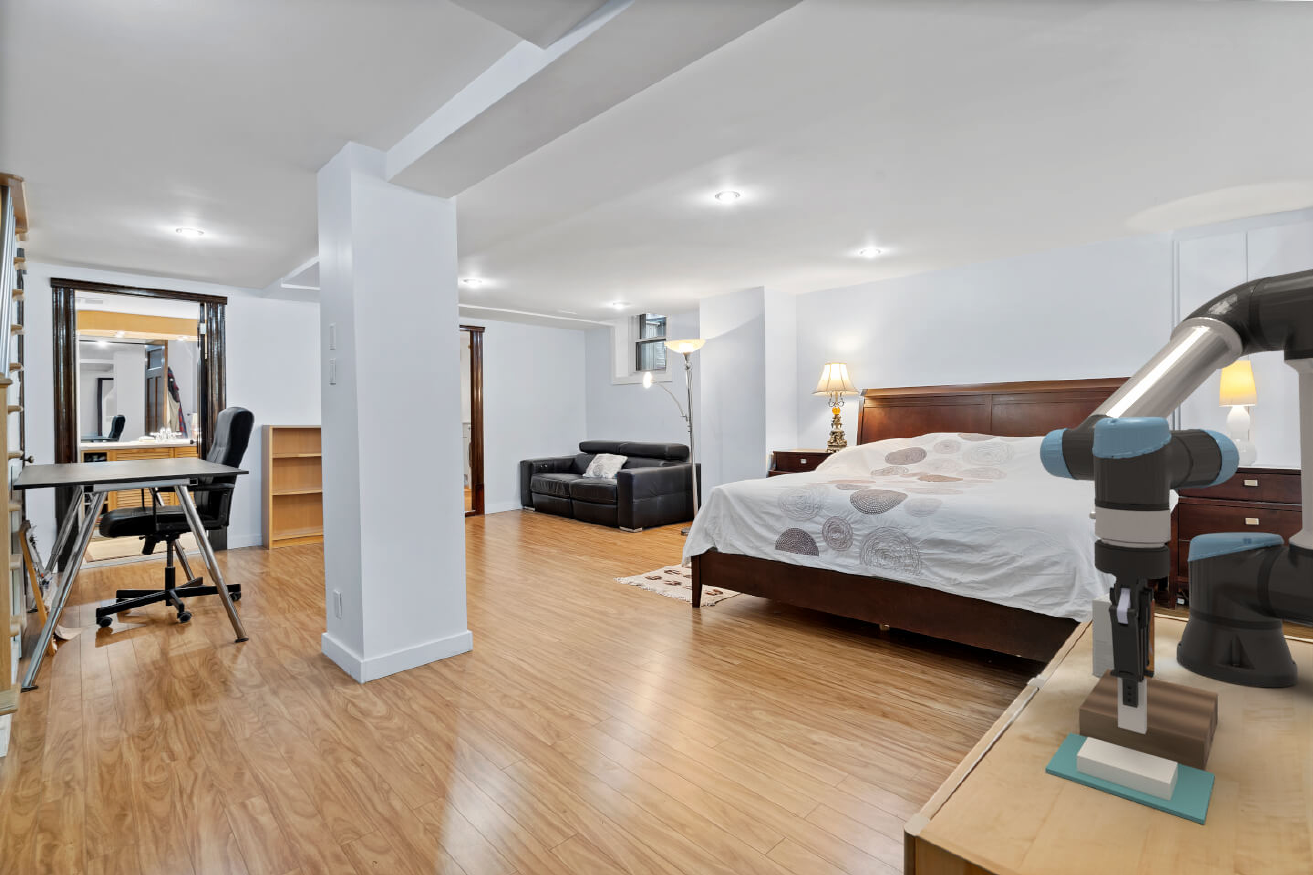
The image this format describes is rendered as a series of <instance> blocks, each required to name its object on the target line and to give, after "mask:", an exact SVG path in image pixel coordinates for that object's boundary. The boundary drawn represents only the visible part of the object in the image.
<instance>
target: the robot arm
mask: <svg viewBox="0 0 1313 875" xmlns="http://www.w3.org/2000/svg"><path fill="white" fill-rule="evenodd" d="M1169 336H1170V337H1169V341H1168V342H1167V343H1166V344H1165V345H1164V346H1163V347H1162V348H1161V349H1160V350H1159V351H1158V352H1157V353H1155V354H1154V356H1152V358H1150V359H1148V360H1147V362H1146V363H1145V364H1144V365H1142V367H1141V368H1140V369H1138V370H1137V371H1136V372H1135V373H1134V374H1133V375H1132V376H1130V377H1129V379H1128V380H1127V381H1125V382H1124V383H1123V384H1122V385H1121V386H1120V387H1119V388H1118V389H1116V391H1114V392H1113V393H1112V394H1111V395H1110V396H1109V397H1108V398H1107V399H1106V400H1105V401H1104V402H1102V403H1101V404H1100V405H1099V406H1098V407H1097V408H1096V409H1095V410H1094V411H1093V412H1091V414H1090V415H1088V417H1086V418H1085V419H1084V420H1083V421H1082V422H1081V423H1080V424H1078V426H1077V427H1075V428H1073V429H1071V428H1069V427H1067V428H1063V429H1056V430H1055V429H1054V430H1051V431H1050V432H1048V433H1047V434H1046V435H1045V436H1044V438H1043V439H1042V442H1041V443H1040V446H1039V458H1040V462H1041V463H1042V466H1043V468H1044V470H1045V471H1046V472H1047V473H1049V474H1050V475H1052V476H1054V477H1058V478H1063V479H1071V480H1074V481H1087V482H1088V481H1089V482H1094V511H1090V512H1089V514H1088V517H1089V518H1090V519H1092V520H1095V522H1094V535H1096V537H1097V538H1099V539H1097V540H1096V541H1095V542H1094V567H1095V568H1096V570H1097V571H1099V572H1101V573H1103V574H1106V575H1107V574H1108V575H1109V574H1110V575H1111V576H1113V577H1115V582H1114V583H1113V587H1111V586H1110V587H1109V592H1108V593H1109V599H1110V601H1111V603H1112V605H1110V607H1109V613H1110V619H1111V627H1112V643H1113V659H1114V670H1113V669H1112V670H1111V671H1110V675H1111V676H1114V677H1118V727H1120V728H1124V729H1128V730H1132V731H1135V732H1139V733H1143V734H1145V733H1146V731H1147V678H1144V676H1147V677H1150V678H1151V679H1154V676H1155V670H1154V671H1150V670H1147V667H1148V666H1149V664H1150V660H1149V641H1150V620H1151V602H1152V600H1153V599H1154V596H1155V594H1154V593H1155V592H1154V588H1153V587H1148V580H1157V579H1164V578H1167V577H1168V576H1169V575H1170V573H1171V549H1170V547H1169V546H1168V545H1167V544H1165V543H1167V542H1169V541H1171V539H1172V537H1171V534H1172V532H1171V531H1172V530H1171V528H1172V527H1171V525H1172V524H1171V518H1172V517H1171V516H1172V515H1171V513H1172V512H1171V507H1170V500H1171V499H1170V492H1171V491H1170V490H1174V491H1175V490H1184V489H1186V490H1187V489H1205V488H1209V487H1212V486H1217V485H1221V484H1222V483H1225V482H1226V481H1229V479H1230V478H1232V477H1233V476H1234V475H1235V473H1236V472H1237V470H1238V468H1239V464H1240V461H1241V460H1240V453H1239V450H1238V448H1237V445H1236V444H1235V443H1234V441H1232V439H1231V438H1230V437H1228V436H1227V435H1225V434H1224V433H1221V432H1219V431H1216V430H1214V429H1213V430H1211V429H1203V428H1187V429H1182V430H1181V429H1179V430H1178V429H1170V424H1169V421H1168V420H1167V418H1168V417H1169V416H1170V415H1171V414H1172V413H1173V412H1174V411H1175V410H1177V408H1178V407H1179V406H1180V405H1181V404H1183V403H1184V402H1185V401H1186V400H1187V399H1188V398H1189V397H1190V396H1191V395H1193V393H1194V392H1195V391H1196V390H1197V389H1198V388H1199V387H1200V386H1201V385H1202V384H1203V383H1205V381H1206V380H1208V379H1209V377H1210V376H1212V374H1214V373H1215V372H1216V371H1217V370H1222V369H1224V368H1227V367H1229V366H1231V365H1233V364H1234V363H1235V362H1236V361H1237V360H1239V358H1241V357H1244V356H1248V355H1252V354H1257V353H1265V352H1277V351H1278V352H1281V351H1283V363H1284V364H1286V365H1287V366H1289V367H1290V368H1291V369H1293V370H1295V372H1297V373H1298V402H1299V403H1298V404H1299V407H1298V409H1299V410H1298V411H1299V436H1300V438H1299V443H1300V477H1301V478H1300V479H1301V482H1300V483H1301V510H1302V511H1301V514H1302V516H1301V517H1302V518H1301V520H1302V528H1301V530H1299V531H1298V532H1296V533H1295V534H1294V535H1291V536H1290V537H1289V538H1288V545H1287V546H1286V545H1284V544H1285V541H1284V539H1283V536H1281V535H1280V534H1275V533H1271V532H1270V533H1269V532H1268V533H1267V532H1216V533H1205V534H1200V535H1196V536H1195V537H1193V538H1192V539H1191V540H1190V542H1189V552H1188V558H1187V562H1188V595H1189V596H1188V598H1189V599H1188V600H1189V602H1188V606H1189V612H1188V613H1189V615H1188V616H1189V617H1188V620H1187V622H1186V625H1185V626H1184V629H1183V633H1182V635H1181V639H1180V641H1179V642H1178V643H1177V645H1176V661H1177V662H1178V664H1180V665H1181V666H1183V667H1185V668H1186V669H1188V670H1190V671H1192V672H1194V673H1196V674H1200V675H1203V676H1205V677H1208V678H1211V679H1214V680H1215V679H1216V680H1219V681H1224V682H1229V683H1234V684H1238V685H1244V686H1252V687H1258V688H1260V687H1261V688H1285V687H1291V686H1294V685H1297V683H1298V681H1299V672H1298V671H1299V669H1298V665H1297V663H1296V661H1295V660H1294V659H1293V657H1292V654H1291V651H1290V647H1289V645H1288V642H1287V640H1286V637H1285V634H1284V632H1283V621H1287V622H1291V623H1294V624H1300V625H1303V626H1308V627H1313V268H1311V269H1307V270H1300V271H1297V272H1296V271H1295V272H1294V271H1293V272H1289V273H1284V274H1279V275H1274V276H1265V277H1261V278H1255V279H1253V280H1249V281H1246V282H1244V283H1242V284H1239V285H1236V286H1234V287H1231V288H1229V289H1228V290H1226V291H1224V292H1222V293H1220V294H1218V295H1217V296H1215V297H1213V298H1211V299H1210V300H1209V301H1207V302H1205V303H1204V304H1202V305H1201V306H1199V307H1198V308H1197V309H1195V310H1193V311H1192V312H1191V313H1190V314H1189V315H1187V316H1186V317H1184V319H1182V320H1181V321H1180V322H1179V323H1178V324H1177V325H1176V326H1175V327H1174V329H1172V332H1171V334H1170V335H1169Z"/></svg>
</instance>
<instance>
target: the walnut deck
mask: <svg viewBox="0 0 1313 875" xmlns="http://www.w3.org/2000/svg"><path fill="white" fill-rule="evenodd" d="M1110 671H1111V670H1110V669H1107V670H1106V671H1105V673H1104V674H1103V676H1102V677H1100V678H1099V679H1098V681H1097V682H1096V683H1095V686H1094V687H1093V688H1092V690H1091V691H1090V693H1088V696H1086V698H1085V699H1084V701H1083V702H1082V704H1081V705H1080V706H1079V709H1078V711H1079V712H1078V713H1079V714H1078V716H1079V717H1078V721H1079V722H1078V724H1079V727H1078V728H1079V734H1078V735H1081V736H1085V737H1091V738H1094V739H1098V740H1101V741H1105V742H1108V743H1111V744H1115V745H1118V746H1122V747H1125V748H1129V749H1132V750H1136V751H1139V752H1143V753H1146V754H1150V755H1153V756H1157V757H1160V758H1164V759H1167V760H1171V761H1174V762H1178V763H1179V764H1182V765H1186V766H1189V767H1193V768H1196V769H1200V770H1203V771H1206V768H1207V764H1208V761H1209V757H1210V753H1211V749H1212V745H1213V740H1214V737H1215V734H1216V729H1217V725H1218V722H1219V721H1218V719H1219V714H1218V713H1219V709H1218V706H1219V703H1218V700H1219V698H1218V695H1219V694H1218V692H1215V691H1210V690H1206V689H1201V688H1197V687H1191V686H1188V685H1183V684H1177V683H1173V682H1169V681H1164V680H1161V679H1155V678H1152V677H1150V678H1147V677H1144V678H1147V731H1146V733H1145V734H1143V733H1139V732H1135V731H1132V730H1128V729H1124V728H1120V727H1118V677H1114V676H1111V675H1110Z"/></svg>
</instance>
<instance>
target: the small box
mask: <svg viewBox="0 0 1313 875" xmlns="http://www.w3.org/2000/svg"><path fill="white" fill-rule="evenodd" d="M1155 602H1156V599H1154V598H1153V600H1152V602H1151V620H1150V641H1149V660H1150V664H1149V666H1148V667H1147V670H1150V671H1154V672H1155V665H1156V664H1155V645H1156V644H1155V641H1156V640H1155V639H1156V638H1155V633H1156V632H1155V629H1156V628H1155V625H1156V624H1155V623H1156V622H1155V620H1156V618H1155V613H1156V612H1155V609H1156V608H1155V607H1156V606H1155V604H1156V603H1155ZM1091 604H1092V605H1091V606H1092V609H1091V610H1092V612H1091V613H1092V620H1091V621H1092V623H1091V624H1092V627H1091V628H1092V672H1091V673H1092V675H1093V676H1096V677H1098V678H1099V677H1100V678H1101V677H1102V676H1103V674H1104V673H1105V671H1106V670H1107V669H1110V670H1112V669H1113V670H1114V659H1113V643H1112V627H1111V619H1110V613H1109V607H1110V605H1112V603H1111V601H1110V599H1109V592H1108V593H1105V594H1102V595H1100V596H1097V597H1096V598H1094V599H1092V603H1091ZM1144 677H1147V676H1144ZM1147 678H1151V677H1147Z"/></svg>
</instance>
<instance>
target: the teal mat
mask: <svg viewBox="0 0 1313 875" xmlns="http://www.w3.org/2000/svg"><path fill="white" fill-rule="evenodd" d="M1087 738H1088V737H1085V736H1081V735H1079V734H1077V733H1074V732H1069V733H1068V734H1067V736H1066V738H1065V739H1064V740H1063V742H1062V743H1061V745H1060V746H1059V748H1058V749H1057V750H1056V752H1055V753H1054V755H1053V756H1052V758H1051V759H1050V760H1049V762H1048V764H1047V765H1046V766H1045V768H1044V770H1045V773H1048V774H1051V775H1053V776H1056V777H1060V778H1062V779H1066V780H1068V781H1072V782H1075V783H1078V784H1081V785H1084V786H1087V787H1090V788H1092V787H1094V788H1093V789H1095V788H1096V790H1098V789H1099V791H1102V792H1104V793H1108V794H1110V795H1113V796H1117V797H1120V798H1123V799H1126V800H1129V801H1132V802H1134V803H1138V804H1141V805H1144V806H1147V807H1150V808H1153V809H1156V810H1159V811H1162V812H1165V813H1168V814H1171V815H1174V816H1177V817H1180V818H1183V819H1185V820H1189V821H1192V822H1195V823H1198V824H1201V825H1205V823H1206V818H1207V814H1208V808H1209V805H1210V804H1209V803H1210V800H1211V796H1212V792H1213V786H1214V784H1215V783H1214V782H1215V778H1216V776H1215V773H1213V772H1210V771H1206V770H1205V771H1203V770H1200V769H1196V768H1193V767H1189V766H1186V765H1182V764H1179V763H1178V779H1177V783H1176V786H1175V789H1174V792H1173V795H1172V798H1171V801H1168V800H1165V799H1162V798H1159V797H1156V796H1153V795H1150V794H1146V793H1143V792H1140V791H1137V790H1134V789H1131V788H1128V787H1125V786H1122V785H1119V784H1115V783H1112V782H1109V781H1106V780H1103V779H1100V778H1097V777H1094V776H1091V775H1088V774H1085V773H1081V772H1078V771H1077V754H1078V752H1079V751H1080V749H1081V747H1082V746H1083V744H1084V743H1085V741H1086V740H1087Z"/></svg>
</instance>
